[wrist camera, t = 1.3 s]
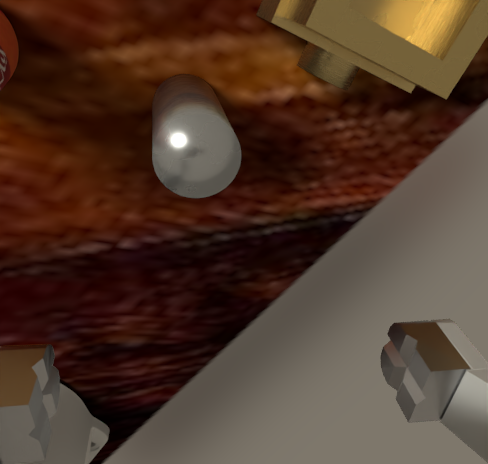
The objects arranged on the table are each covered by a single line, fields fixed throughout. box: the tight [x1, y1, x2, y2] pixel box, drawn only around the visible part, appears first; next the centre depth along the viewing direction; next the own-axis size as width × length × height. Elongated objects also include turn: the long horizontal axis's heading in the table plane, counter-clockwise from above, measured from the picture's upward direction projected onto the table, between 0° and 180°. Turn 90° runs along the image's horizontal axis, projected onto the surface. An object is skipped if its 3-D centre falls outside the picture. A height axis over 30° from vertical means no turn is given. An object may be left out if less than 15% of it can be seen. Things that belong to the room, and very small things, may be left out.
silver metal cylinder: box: [152, 74, 241, 198], centre depth 25 cm, size 4×4×9 cm
